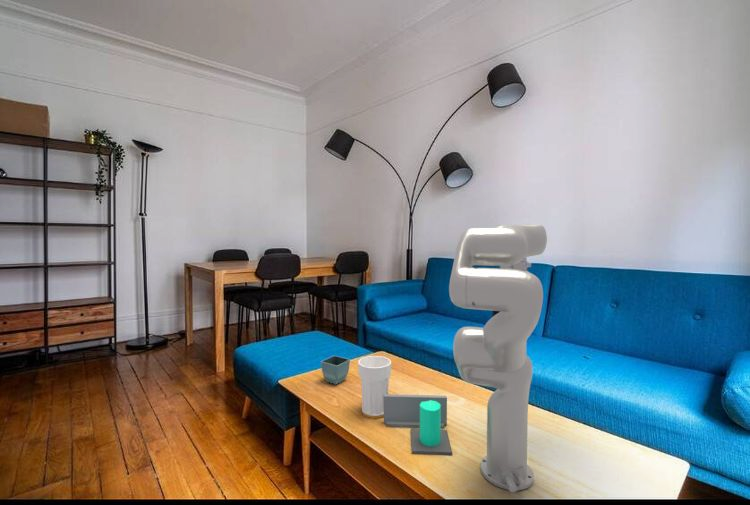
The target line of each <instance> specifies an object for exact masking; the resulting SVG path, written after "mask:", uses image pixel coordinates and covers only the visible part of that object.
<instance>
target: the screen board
mask: <svg viewBox="0 0 750 505" xmlns="http://www.w3.org/2000/svg"><path fill="white" fill-rule="evenodd" d="M430 400H432V401H436V402H438V403H440V405H441V428H443V429H442V430H445V426H444V425H447V426H448V398H447V395H436V394H435V395H433V394H431V395H429V394H395V393H393V394H392V393H391V394H389V393H388V394H384V396H383V408H384V416H383V425H386V428H406V429H407V428H410V429H420V404H421V402H426V401H430Z"/></svg>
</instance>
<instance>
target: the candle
mask: <svg viewBox="0 0 750 505" xmlns="http://www.w3.org/2000/svg"><path fill="white" fill-rule="evenodd" d="M419 429H420V442H421V443H422V444H424V445H426V446H436V445H439V443H440V442H441V430H442V429H441V405H440V403H438V402H436V401H432V400H430V401H426V402H421V404H420V428H419Z"/></svg>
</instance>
